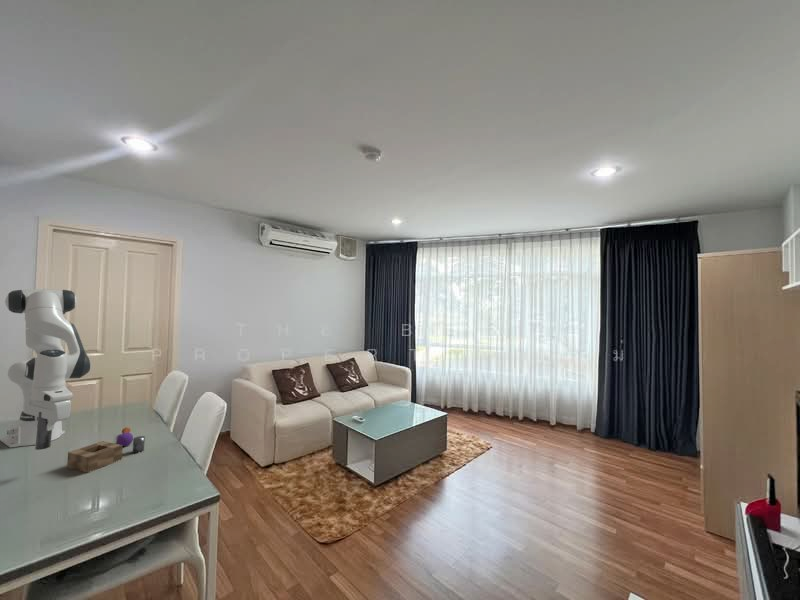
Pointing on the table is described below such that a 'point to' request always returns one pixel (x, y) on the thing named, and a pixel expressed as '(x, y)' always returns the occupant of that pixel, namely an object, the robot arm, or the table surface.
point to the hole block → (94, 456)
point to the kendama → (125, 437)
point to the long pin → (42, 434)
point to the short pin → (138, 444)
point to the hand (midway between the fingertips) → (44, 428)
